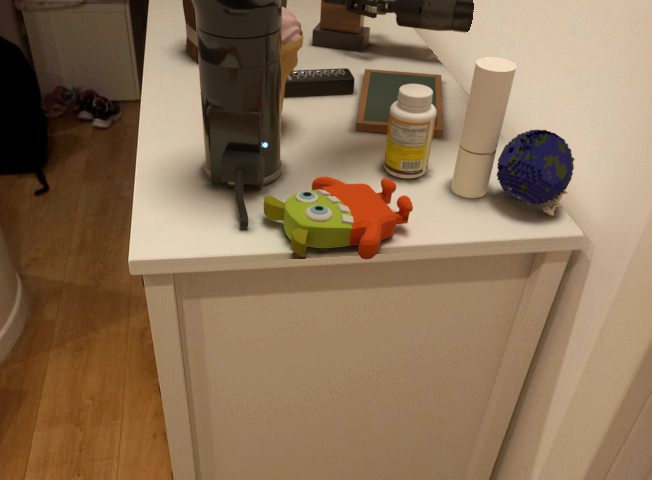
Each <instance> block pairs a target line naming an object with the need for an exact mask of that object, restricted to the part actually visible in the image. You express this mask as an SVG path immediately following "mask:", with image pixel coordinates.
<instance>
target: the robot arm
mask: <svg viewBox="0 0 652 480" xmlns="http://www.w3.org/2000/svg"><path fill="white" fill-rule="evenodd" d="M323 1H324V2H325V3H331V4H339V5H345V7H346V11H349V12H353V13H356V14H360V15H363V16H364V17H366V18H371V19H376V18H377V17H378V16H385V15H387V14H394V15H395V16H396V17H395V22H396V25H397V26H398V27H402V28H411V29H419V30H427V31H434V32H435V31H436V32H457V33H464V34H467V33H466V32H468V31H469V30H470V27H471V24H472V20H473V12H474V11H473V10H474V3H473V0H357V3H354V0H323ZM192 3H193V6H194V10H195V18H196V30H197V45H198V61H199V63H198V74H199V87H200V89H199V90H200V102H201V117H202V130H203V143H204V144H203V145H204V157H205V161H204V171H205V174H206V176H207V177H208V178H209V179H210V185H211V186H215V187H224V188H234V195H235V203H236V208H237V211H238V212H237V213H238V215H239V226H240V228H242V229H247V228H248V227H249V215H248V214H249V213H248V210H247V206H246V202H245V195H244V194H245V193H244V189H246V190H255V191H256V190H257V191H261V190H263V188H264V186H265V185H268V184H270V183H272V182H274V181H275V180H277V179H278V178H279V176H280V175H281V173H282V160H281V153H282V152H281V149H282V148H281V147H282V145H281V144H282V143H281V138H282V137H281V134H282V133H281V131H282V128H281V127H282V126H281V125H282V115H281V52H282V3H281V0H192Z"/></svg>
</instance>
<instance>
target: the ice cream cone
mask: <svg viewBox="0 0 652 480" xmlns="http://www.w3.org/2000/svg"><path fill="white" fill-rule="evenodd" d="M303 44H304V31H303V30H302V25H301V22H300V21H299V20H298V19H297V17H296V15H295V14H294V13H293V12H292V11H291V10H290V9H288V8H287V7H286V8H284V7H282V52H281V116H283V115H282V114H283V109H284V99H285V97H284V90H285V83H286V80H287V78H288V76H289V75H290V73H291V72H292V71H293V70H295V68H296V67H297V66H298V63H299V58H298V57H299V56H298V52H299V51H300V50H301V49H302V47H303Z"/></svg>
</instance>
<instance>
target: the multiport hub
mask: <svg viewBox="0 0 652 480" xmlns="http://www.w3.org/2000/svg"><path fill="white" fill-rule="evenodd" d="M355 80H356V79H355V76H354V75H353V73H352V72H351V70H350V69H349V68H347V67H344V68H343V67H342V68H322V69H321V68H320V69H317V68H316V69H296V70H295V69H293V70H292V72H291V73H290V75H289V76H288V78H287V80H286V83H285V90H284V98H296V97H298V98H300V97H318V96H320V97H321V96H337V95H340V96H341V95H354V92H355Z"/></svg>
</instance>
